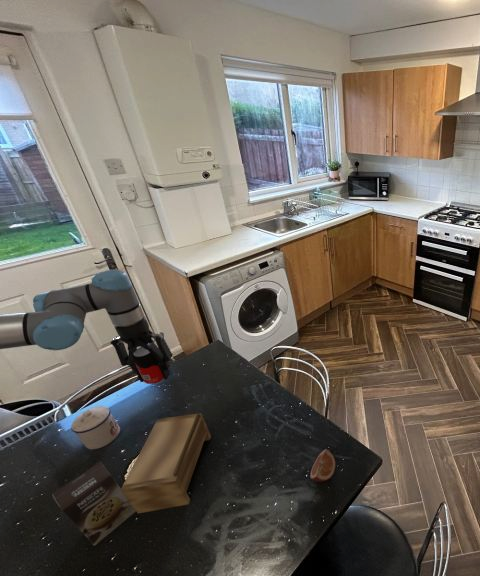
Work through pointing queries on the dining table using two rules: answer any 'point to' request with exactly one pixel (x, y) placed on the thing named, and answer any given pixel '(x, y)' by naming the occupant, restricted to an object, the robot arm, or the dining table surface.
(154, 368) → the beverage can
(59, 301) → the robot arm
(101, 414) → the white round tub
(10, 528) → the dining table surface
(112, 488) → the brown cardboard box
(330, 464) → the fruit slice
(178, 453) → the tan boxy piece
